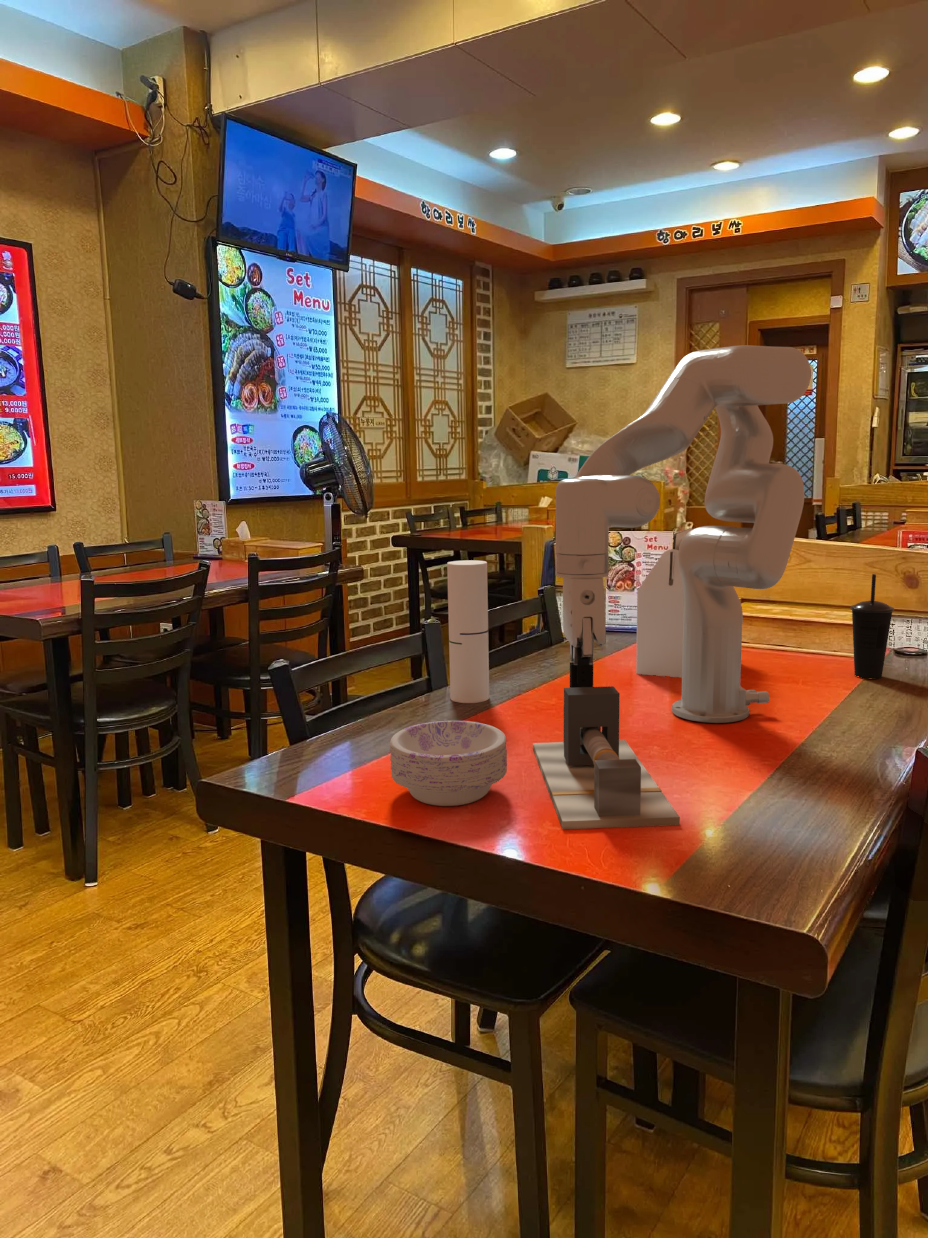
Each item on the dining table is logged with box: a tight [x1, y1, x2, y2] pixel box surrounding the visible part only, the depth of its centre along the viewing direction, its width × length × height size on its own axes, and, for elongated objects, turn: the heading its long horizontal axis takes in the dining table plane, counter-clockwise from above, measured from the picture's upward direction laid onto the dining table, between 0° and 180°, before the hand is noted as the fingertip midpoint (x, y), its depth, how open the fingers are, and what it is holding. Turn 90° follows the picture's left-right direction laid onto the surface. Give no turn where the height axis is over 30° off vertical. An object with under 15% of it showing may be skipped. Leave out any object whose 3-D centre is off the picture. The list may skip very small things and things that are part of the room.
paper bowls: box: [389, 720, 508, 807], centre depth 119 cm, size 15×15×8 cm
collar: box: [563, 685, 620, 766], centre depth 126 cm, size 4×7×10 cm, turn 92°
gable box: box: [635, 528, 693, 679], centre depth 187 cm, size 22×13×28 cm, turn 155°
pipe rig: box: [532, 727, 681, 830], centre depth 122 cm, size 30×14×7 cm, turn 2°
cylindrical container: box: [446, 559, 490, 704], centre depth 165 cm, size 7×7×25 cm
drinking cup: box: [850, 573, 895, 679], centre depth 175 cm, size 8×8×20 cm
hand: (581, 689), depth 133 cm, fingers closed
